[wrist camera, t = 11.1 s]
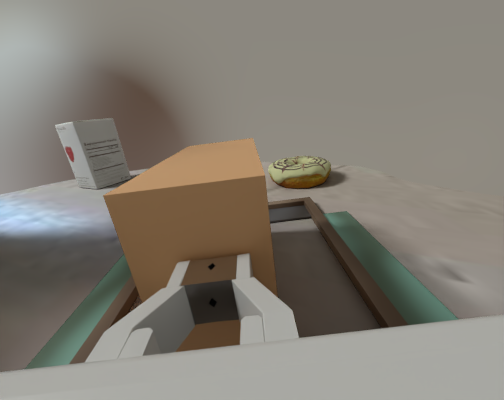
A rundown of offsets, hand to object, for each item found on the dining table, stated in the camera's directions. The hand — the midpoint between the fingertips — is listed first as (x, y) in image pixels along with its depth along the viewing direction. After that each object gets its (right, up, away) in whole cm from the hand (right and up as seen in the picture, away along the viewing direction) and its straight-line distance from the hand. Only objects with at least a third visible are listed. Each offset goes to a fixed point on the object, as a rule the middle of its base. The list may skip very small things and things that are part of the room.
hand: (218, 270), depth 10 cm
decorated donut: (+10, +6, +32) cm, 34 cm away
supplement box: (-35, +7, +49) cm, 61 cm away
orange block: (0, -3, +9) cm, 9 cm away
